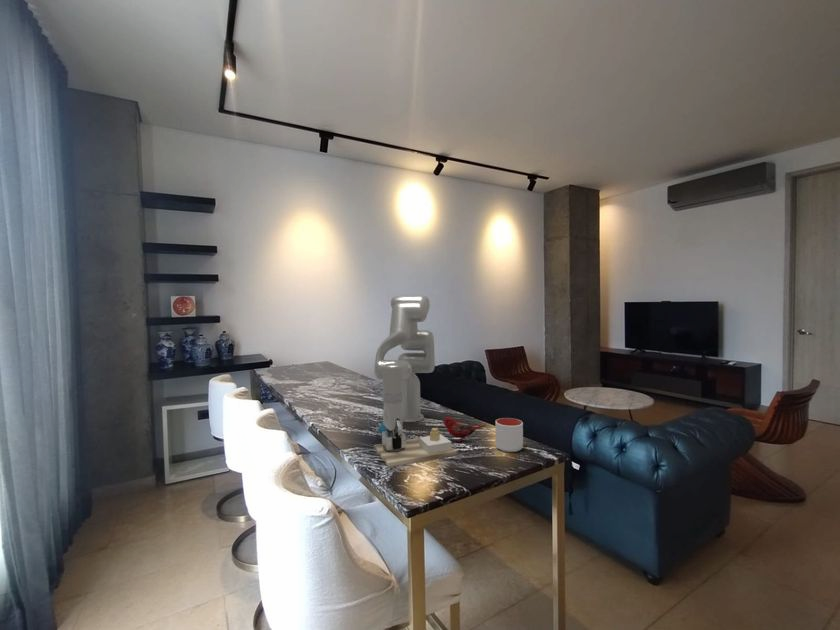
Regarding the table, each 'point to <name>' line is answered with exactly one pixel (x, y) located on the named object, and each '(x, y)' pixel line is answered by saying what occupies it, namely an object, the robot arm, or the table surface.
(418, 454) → the board
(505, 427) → the cup
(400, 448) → the rod stand
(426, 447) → the block
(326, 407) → the table surface
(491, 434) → the table surface
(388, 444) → the steel collar
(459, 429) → the decorative bird figurine
